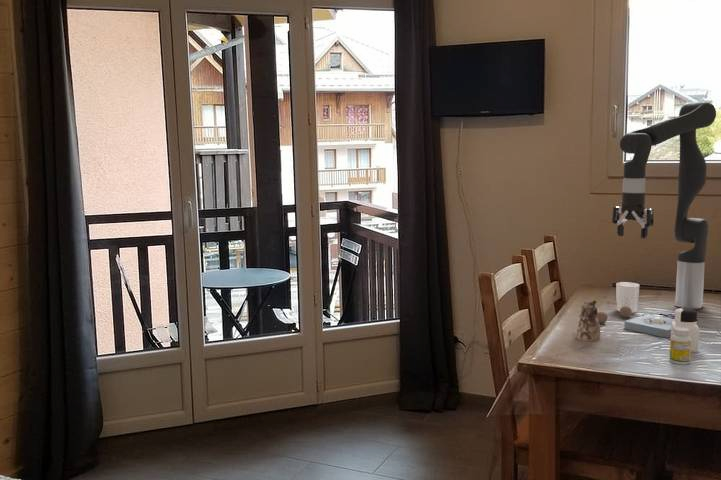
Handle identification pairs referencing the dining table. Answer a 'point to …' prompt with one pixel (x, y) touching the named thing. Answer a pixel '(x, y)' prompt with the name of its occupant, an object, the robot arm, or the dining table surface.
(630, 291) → the white cup
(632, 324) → the blue-grey square plate
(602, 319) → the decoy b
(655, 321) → the ball
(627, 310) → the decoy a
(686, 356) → the supplement bottle
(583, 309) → the figurine
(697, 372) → the dining table surface
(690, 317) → the medicine bottle
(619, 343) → the dining table surface
